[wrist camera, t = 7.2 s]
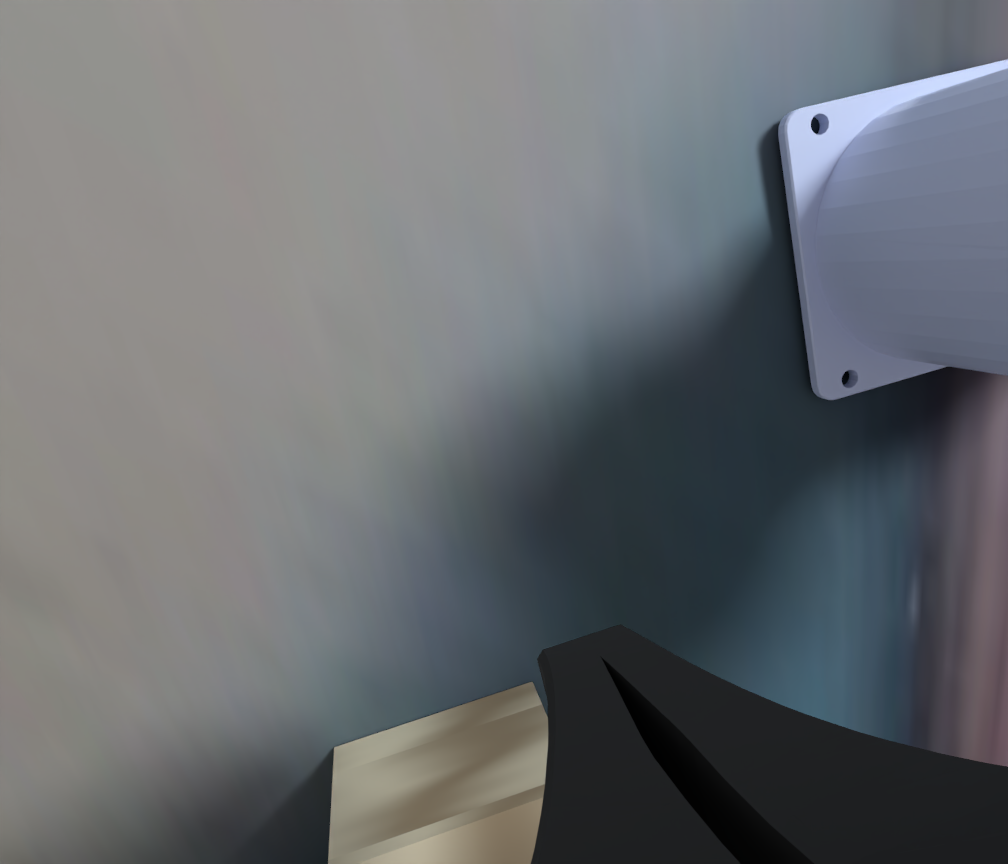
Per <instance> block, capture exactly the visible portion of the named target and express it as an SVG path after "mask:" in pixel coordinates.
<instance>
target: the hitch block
mask: <svg viewBox="0 0 1008 864" xmlns="http://www.w3.org/2000/svg"><path fill="white" fill-rule="evenodd" d="M547 752H548V717H547V715H546V712H545V710H544V708H543V705H542V703H541V701H540V698H539V696H538V694H537V691H536V689H535V687H534V684H533V682H529V683H526V684H523V685H520V686H517V687H514V688H511V689H508V690H505V691H502V692H499V693H496V694H493V695H490V696H487V697H484V698H481V699H478V700H475V701H472V702H469V703H466V704H463V705H460V706H457V707H454V708H451V709H448V710H445V711H442V712H439V713H436V714H433V715H430V716H427V717H424V718H421V719H418V720H415V721H412V722H409V723H406V724H403V725H400V726H397V727H394V728H391V729H388V730H385V731H382V732H379V733H376V734H373V735H370V736H367V737H364V738H361V739H358V740H355V741H352V742H349V743H346V744H343V745H340V746H337V747H334V760H333V779H332V798H331V817H330V836H329V854H328V864H531V861H532V856H533V852H534V848H535V843H536V838H537V833H538V827H539V822H540V816H541V810H542V803H543V795H544V788H545V777H546V764H547Z"/></svg>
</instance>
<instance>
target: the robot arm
mask: <svg viewBox="0 0 1008 864" xmlns="http://www.w3.org/2000/svg"><path fill="white" fill-rule="evenodd" d="M813 117H815V118H816V119H818V121H819V124H820V129H819V132H818V133H817V135H816V134H815V133H814V132H813V131H812V128H811V120H812V119H813ZM778 137H779V144H780V152H781V160H782V167H783V175H784V182H785V190H786V197H787V205H788V213H789V220H790V228H791V235H792V243H793V250H794V258H795V266H796V273H797V281H798V288H799V296H800V303H801V311H802V319H803V326H804V334H805V341H806V349H807V356H808V364H809V372H810V379H811V386H812V389H813V392H814V393H815V394H816V395H817V396H818V397H820V398H823V399H826V400H836V399H840V398H843V397H846V396H850V395H853V394H856V393H860V392H863V391H867V390H870V389H873V388H877V387H880V386H883V385H887V384H890V383H894V382H897V381H900V380H904V379H907V378H911V377H914V376H917V375H921V374H924V373H927V372H931V371H934V370H938V369H941V368H944V367H948V366H950V367H956V368H962V369H969V370H975V371H981V372H988V373H994V374H1000V375H1007V376H1008V59H1007V60H1003V61H999V62H995V63H990V64H986V65H982V66H978V67H973V68H969V69H965V70H961V71H956V72H952V73H948V74H944V75H940V76H935V77H931V78H927V79H923V80H918V81H914V82H910V83H906V84H901V85H897V86H893V87H889V88H884V89H880V90H876V91H872V92H867V93H863V94H859V95H855V96H851V97H846V98H842V99H838V100H834V101H829V102H825V103H821V104H817V105H812V106H808V107H804V108H800V109H797V110H794V111H792V112H790V113H788V114H786V115H785V116H784V117H783V118H782V120H781V122H780V125H779V128H778ZM846 371H848V372H849V380H848V381H847V383H846V384H844V385H843V384H842V376H843V374H844V373H845V372H846ZM537 660H538V664H539V668H540V672H541V676H542V680H543V684H544V687H545V691H546V695H547V701H548V752H547V764H546V777H545V788H544V795H543V803H542V810H541V816H540V822H539V827H538V833H537V838H536V843H535V848H534V852H533V856H532V861H531V864H1008V767H1006V766H1000V765H994V764H988V763H983V762H978V761H974V760H969V759H964V758H959V757H954V756H949V755H945V754H940V753H936V752H932V751H928V750H924V749H920V748H916V747H912V746H908V745H904V744H900V743H896V742H892V741H888V740H885V739H881V738H878V737H874V736H871V735H867V734H864V733H860V732H857V731H854V730H851V729H848V728H845V727H842V726H839V725H836V724H833V723H830V722H827V721H824V720H821V719H818V718H815V717H812V716H809V715H806V714H803V713H801V712H798V711H795V710H793V709H790V708H787V707H785V706H782V705H780V704H778V703H775V702H773V701H771V700H768V699H766V698H764V697H761V696H759V695H756V694H754V693H752V692H749V691H747V690H745V689H742V688H740V687H738V686H736V685H734V684H732V683H730V682H727V681H725V680H723V679H721V678H719V677H717V676H715V675H713V674H711V673H709V672H707V671H705V670H703V669H701V668H699V667H697V666H695V665H693V664H691V663H689V662H687V661H686V660H684V659H682V658H680V657H678V656H676V655H675V654H673V653H671V652H669V651H667V650H665V649H664V648H662V647H660V646H658V645H657V644H655V643H653V642H651V641H649V640H648V639H646V638H644V637H642V636H641V635H639V634H637V633H635V632H633V631H632V630H630V629H628V628H626V627H624V626H623V625H621V624H620V625H617V626H614V627H611V628H608V629H605V630H602V631H599V632H596V633H593V634H590V635H587V636H583V637H580V638H577V639H574V640H571V641H568V642H565V643H562V644H559V645H556V646H553V647H550V648H547V649H544V650H542V652H541V654H540V655H539V657H538V659H537Z"/></svg>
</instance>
